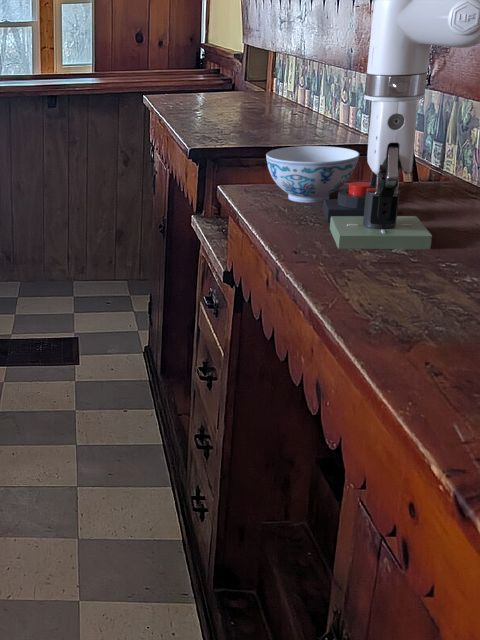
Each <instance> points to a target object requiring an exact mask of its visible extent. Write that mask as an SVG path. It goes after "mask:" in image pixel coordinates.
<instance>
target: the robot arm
mask: <svg viewBox="0 0 480 640" xmlns="http://www.w3.org/2000/svg"><path fill="white" fill-rule="evenodd" d="M372 7H373V8H372V16H371V17H372V18H371V28H370V37H369V45H368V46H369V47H368V58H367V65H366V67H367V68H366V75H365V87H364V95H363V96H364V97H363V99H364V100H365V101H371V102H372V103H371V111H370V118H369V119H370V120H369V130H368V139H367V158H366V159H367V164H368V166H369V169H370V170H371V172H370V177H369V178H370V179H369V182H370V187H368V188H376V190H375V195H373V198H372V207H371V216H370V222H371V224H394V223H395V216H396V208H397V200H398V195H397V194H398V190H399V183H400V169H401V171H402V172H403V173H404V175H405V176H408V175H410V174H411V173H412V171H413V163H414V152H415V140H416V129H417V128H416V127H417V108H418V105H417V101H419V100H420V101H421V100H423V99H425V94H426V86H427V77H428V70H429V62H430V54H431V48H432V46H439V47H445V48H446V47H448V48H456V49H457V48H458V49H464V48H471V47H474V46H478V45H479V44H480V0H374V1H373V6H372Z"/></svg>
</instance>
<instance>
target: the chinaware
mask: <svg viewBox="0 0 480 640" xmlns="http://www.w3.org/2000/svg"><path fill="white" fill-rule="evenodd" d="M265 158H266V164H267V168H268V172H269V174H270V176H271V178H272V179H273V181H274V183H275V184H276V186H277V187H279V188H280V189H281V190H282V191H284V192H285V193H287V194H288V195H287V198H288V200H290V201H292V202H295V203H305V204H306V203H310V204H311V203H322V202H323V203H324V199H330V195H331V194H333V193H335V192H337V191H338V190H339V189H341V188H342V187H343V186H344V185H345V184H347V182H348V181H349V180H350V178H351V177H352V175H353V173H354V171H355V168H356V167H357V165H358V161H359V158H360V152H358V151H357V150H354V149H352V148H351V149H350V148H345V147H339V146H325V145H304V146H303V145H302V146H301V145H300V146H289V147H281V148H276V149H272V150H270V151H267V153H266V154H265Z"/></svg>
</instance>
